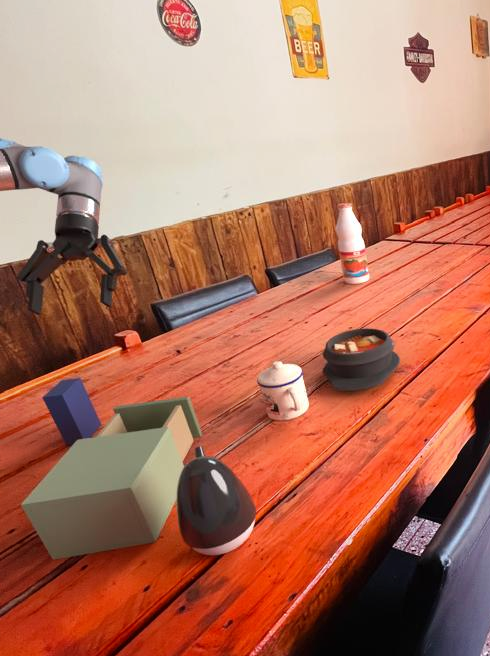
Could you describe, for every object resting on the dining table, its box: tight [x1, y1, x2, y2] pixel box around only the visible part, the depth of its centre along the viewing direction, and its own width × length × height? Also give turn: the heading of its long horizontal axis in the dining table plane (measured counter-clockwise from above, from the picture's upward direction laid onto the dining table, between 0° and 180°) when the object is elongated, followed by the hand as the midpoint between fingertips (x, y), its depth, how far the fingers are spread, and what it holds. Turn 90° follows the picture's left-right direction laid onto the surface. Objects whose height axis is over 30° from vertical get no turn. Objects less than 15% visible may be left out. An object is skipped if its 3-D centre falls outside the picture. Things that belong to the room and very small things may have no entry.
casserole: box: [322, 327, 401, 392], centre depth 123 cm, size 25×19×8 cm
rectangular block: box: [42, 377, 102, 447], centre depth 104 cm, size 4×7×12 cm, turn 11°
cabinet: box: [20, 427, 185, 560], centre depth 82 cm, size 16×14×11 cm
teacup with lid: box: [256, 360, 310, 421], centre depth 107 cm, size 12×9×12 cm
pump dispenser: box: [176, 445, 257, 556], centre depth 75 cm, size 10×10×15 cm
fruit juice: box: [335, 202, 370, 285], centre depth 185 cm, size 9×9×28 cm
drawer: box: [95, 396, 203, 463], centre depth 95 cm, size 19×13×9 cm
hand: (70, 308), depth 107 cm, fingers open, 13 cm apart
